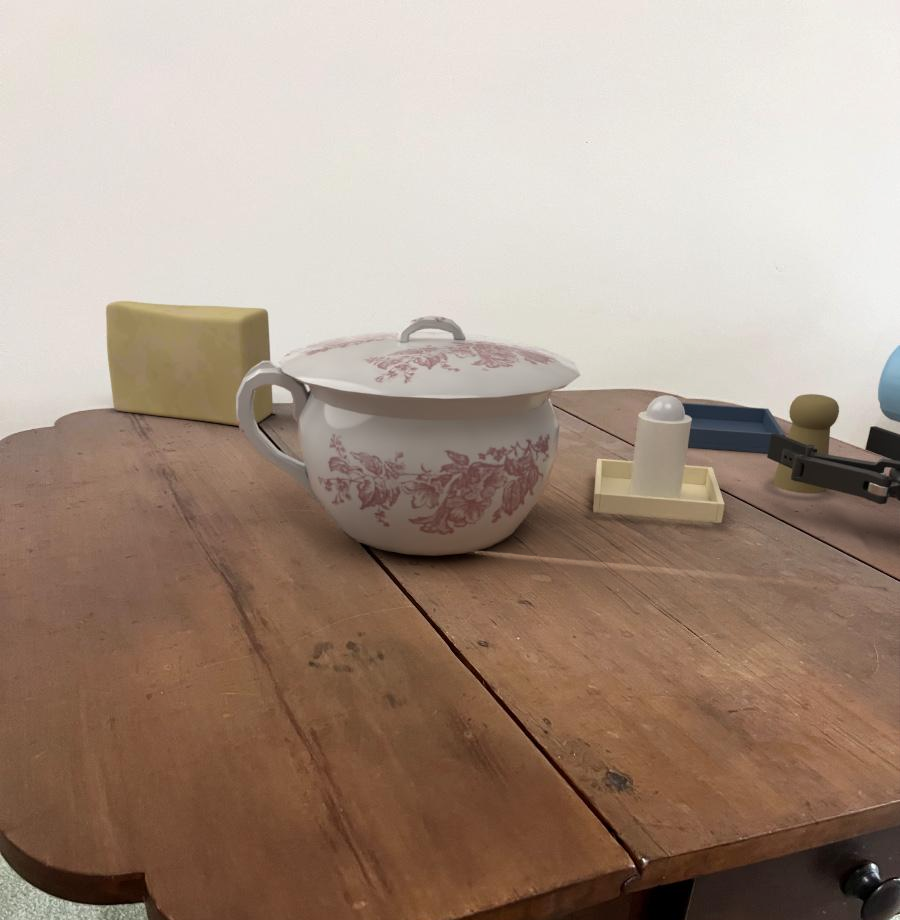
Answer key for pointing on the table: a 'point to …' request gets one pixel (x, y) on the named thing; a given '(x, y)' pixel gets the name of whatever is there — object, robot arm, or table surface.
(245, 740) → the table surface
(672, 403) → the salt shaker
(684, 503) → the light tray
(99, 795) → the table surface
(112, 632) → the table surface
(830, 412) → the olive tapered knobbed cylinder
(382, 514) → the chamber pot
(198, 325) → the cheese
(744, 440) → the dark tray
